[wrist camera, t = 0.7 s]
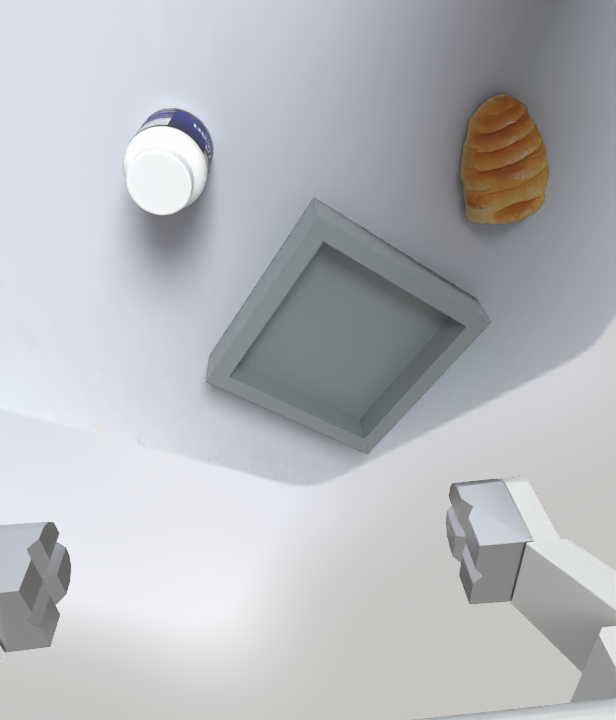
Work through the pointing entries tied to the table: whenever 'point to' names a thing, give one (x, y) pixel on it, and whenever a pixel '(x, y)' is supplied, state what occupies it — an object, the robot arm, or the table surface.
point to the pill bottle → (168, 161)
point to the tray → (343, 332)
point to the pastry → (502, 163)
